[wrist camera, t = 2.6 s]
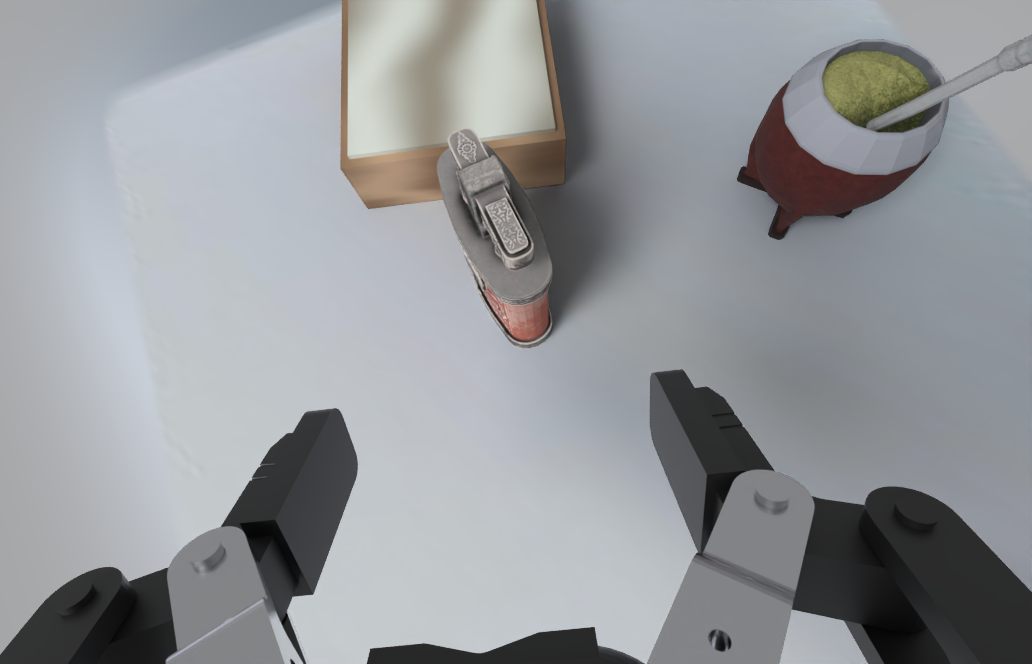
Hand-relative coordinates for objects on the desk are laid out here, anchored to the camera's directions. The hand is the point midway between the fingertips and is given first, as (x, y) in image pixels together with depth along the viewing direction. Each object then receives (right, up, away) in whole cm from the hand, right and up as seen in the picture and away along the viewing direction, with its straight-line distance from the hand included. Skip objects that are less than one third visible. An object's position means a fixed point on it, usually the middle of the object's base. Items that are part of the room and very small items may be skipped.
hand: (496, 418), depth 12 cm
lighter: (0, +5, +15) cm, 16 cm away
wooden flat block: (-3, +17, +19) cm, 25 cm away
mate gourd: (+17, +10, +15) cm, 25 cm away
